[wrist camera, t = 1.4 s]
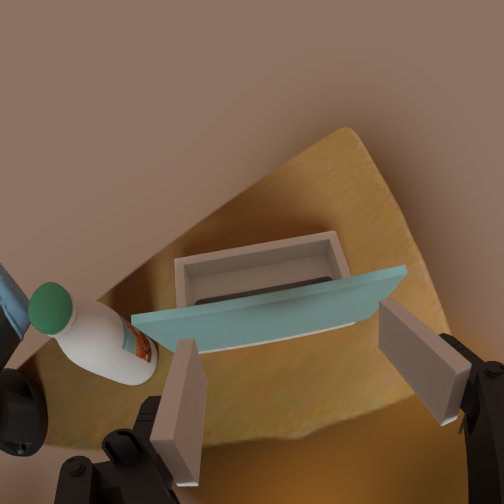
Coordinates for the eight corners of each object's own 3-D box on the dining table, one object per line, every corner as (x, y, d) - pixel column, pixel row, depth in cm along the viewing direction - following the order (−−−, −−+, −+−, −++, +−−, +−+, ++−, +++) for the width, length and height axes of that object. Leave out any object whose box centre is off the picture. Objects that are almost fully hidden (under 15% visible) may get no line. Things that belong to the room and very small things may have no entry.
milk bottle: (157, 388, 37) (68, 352, 19) (108, 382, 37) (8, 341, 20) (161, 334, 41) (86, 263, 23) (114, 331, 41) (27, 265, 24)
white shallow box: (190, 355, 39) (179, 345, 35) (184, 275, 45) (174, 258, 41) (353, 324, 39) (362, 311, 35) (330, 249, 45) (335, 230, 41)
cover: (175, 348, 34) (176, 354, 34) (130, 315, 23) (131, 324, 23) (366, 312, 35) (368, 318, 34) (404, 264, 24) (407, 272, 24)
